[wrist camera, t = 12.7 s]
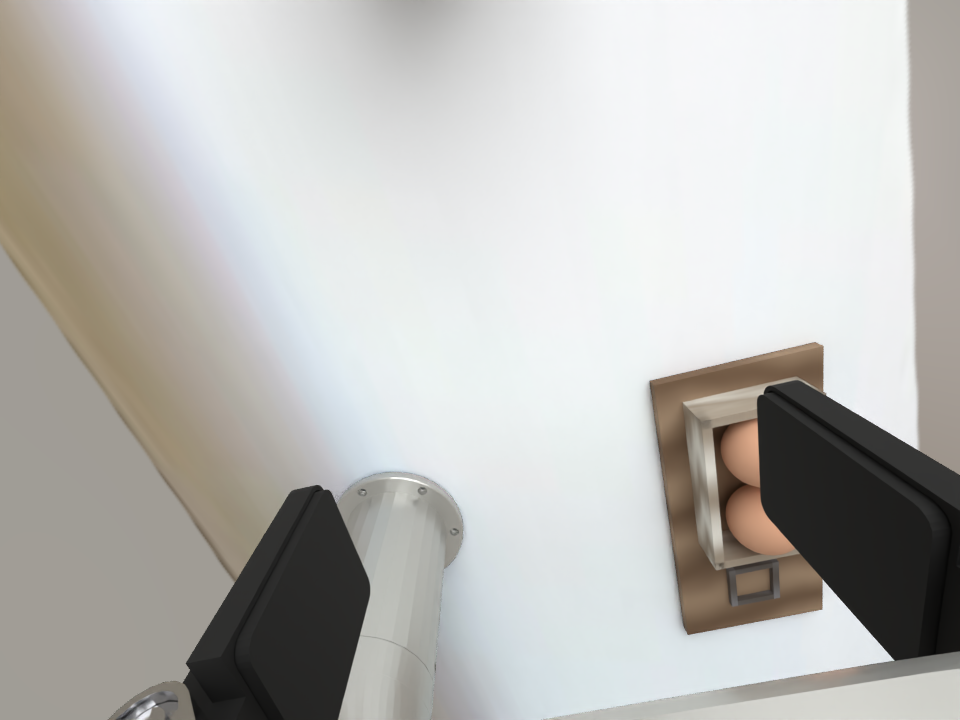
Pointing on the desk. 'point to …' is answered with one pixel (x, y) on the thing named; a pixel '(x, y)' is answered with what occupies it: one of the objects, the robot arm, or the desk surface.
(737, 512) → the terracotta ball
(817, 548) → the robot arm
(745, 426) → the ball
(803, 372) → the sorting board
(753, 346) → the desk surface
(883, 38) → the desk surface
